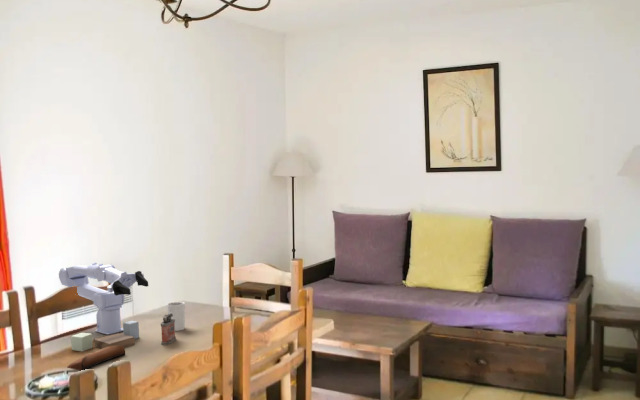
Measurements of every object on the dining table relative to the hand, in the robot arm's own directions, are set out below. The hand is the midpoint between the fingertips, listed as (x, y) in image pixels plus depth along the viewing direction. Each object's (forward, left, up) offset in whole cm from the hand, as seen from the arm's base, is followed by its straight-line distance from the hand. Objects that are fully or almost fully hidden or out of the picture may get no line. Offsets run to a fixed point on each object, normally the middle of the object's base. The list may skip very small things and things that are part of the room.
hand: (138, 287), depth 228 cm
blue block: (-5, -1, -19) cm, 20 cm away
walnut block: (-2, -10, -20) cm, 22 cm away
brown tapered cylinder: (+10, -24, -20) cm, 33 cm away
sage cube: (-8, -19, -19) cm, 28 cm away
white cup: (-1, +17, -20) cm, 26 cm away
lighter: (+11, +4, -20) cm, 23 cm away
